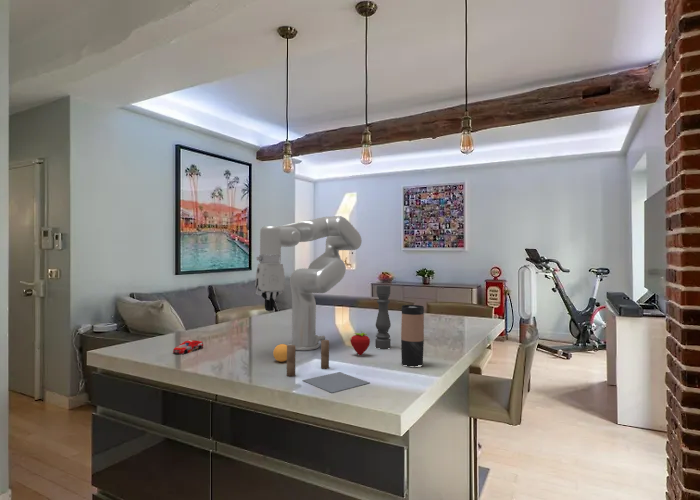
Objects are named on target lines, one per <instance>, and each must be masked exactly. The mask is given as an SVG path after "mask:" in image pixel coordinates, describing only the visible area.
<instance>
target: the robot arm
mask: <svg viewBox="0 0 700 500" xmlns="http://www.w3.org/2000/svg"><path fill="white" fill-rule="evenodd" d="M259 234H260V235H259V255H258V256H257V257H256V261H259V263H257V267H256V272H255V284H254V285H255V286H254V287H255V295H257V296H261V297H262V298H263V300H264V309H265V311H266V312H267V311H268V312H274V308H275V300H276V299H277V297H278V296H279V295H281V294H283V293H284V290H285V289H286V288H285V287H286V284H285V283H286V277H285V269H284V264H283V263H281V262H282V261H281V259H282V256H281V255H282V252H281V251H282V249H281V248H291V247H295V246H297V245H298V244H299V243H306V242H312V241H315V240H316V241H317V240H319V239H323V238H325V251H324V252H323V253H322V254H321V255H320V256H318V257H316V258H315V259H313V261H311V263H309V266H308V268H306V267H305V268H297V269H296V270H294V271H293V272H291V275H290V277H289V286H290V290H291V311H292V312H291V342H290V343H288V344H287V346H288V345H295V346H296V348H295V351H311V350H313V351H314V350H317V349H318V348H320V343H318V342H321V340H326V336H325V335H320V336H319V335H317V334H316V331H317V330H316V328H317V327H316V326H317V325H316V324H317V322H316V319H317V316H316V315H317V314H316V313H317V304H316V302H317V301H316V299H315V296H314V294H325V293H327V292H329V291H330V290H331V289H333V288H334V287H335V286H337V284H338V283H340V282H342V280H343V279H344V277H345V274H346V272H347V271H346V270H347V269H346V263H345V262H344V260H343V259H342V258H341V255H340V251H356V250H358V249H359V248H361V246H362V236H361V234H360V232H359V231H358V230H357V229H356V228H355V227H354V226H353V224H352V223H351V222H350V221H349V220H348V219H347V218H346V217H343V216H342V215H337V216H335V215H334V216H333V215H332V216H323V217H317V218H313V219H309V220H303V221H299V222H293V223H288V224H283V225H277V226H275V225H266V226H265V225H264V226H261V228H260V232H259Z"/></svg>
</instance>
